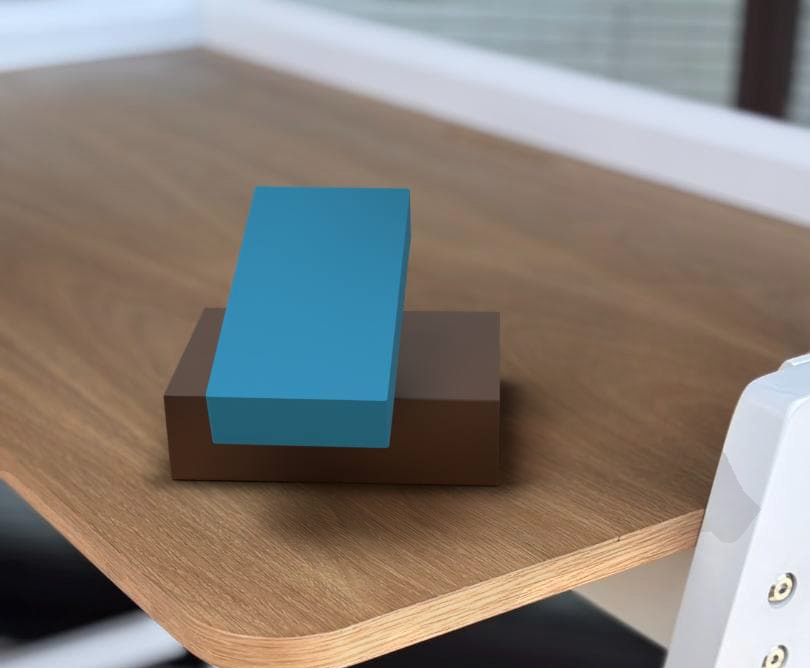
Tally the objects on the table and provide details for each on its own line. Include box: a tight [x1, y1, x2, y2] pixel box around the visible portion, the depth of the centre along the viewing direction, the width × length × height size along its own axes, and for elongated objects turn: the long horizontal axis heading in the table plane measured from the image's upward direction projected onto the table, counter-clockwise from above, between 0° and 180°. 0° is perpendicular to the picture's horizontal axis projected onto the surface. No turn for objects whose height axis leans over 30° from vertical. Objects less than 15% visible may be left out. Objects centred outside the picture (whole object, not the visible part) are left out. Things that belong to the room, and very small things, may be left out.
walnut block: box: [162, 307, 501, 486], centre depth 67 cm, size 14×10×4 cm
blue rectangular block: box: [206, 185, 412, 448], centre depth 65 cm, size 7×7×18 cm
